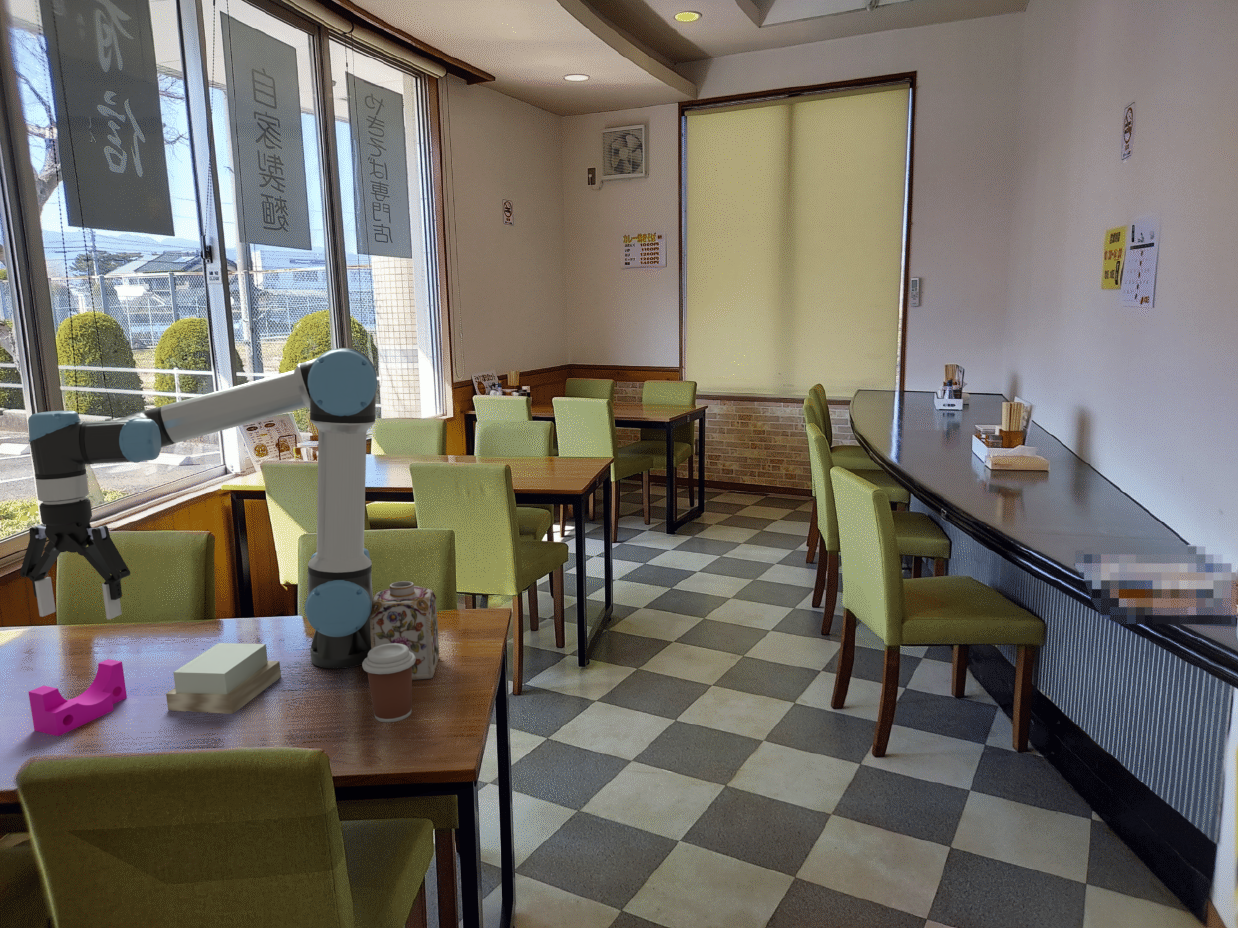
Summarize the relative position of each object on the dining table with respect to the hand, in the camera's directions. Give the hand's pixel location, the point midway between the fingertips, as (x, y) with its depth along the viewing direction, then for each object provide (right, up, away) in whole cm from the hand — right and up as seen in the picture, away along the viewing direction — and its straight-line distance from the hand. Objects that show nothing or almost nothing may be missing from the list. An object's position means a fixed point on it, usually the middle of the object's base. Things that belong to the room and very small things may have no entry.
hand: (80, 615), depth 151 cm
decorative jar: (+54, -14, +19) cm, 59 cm away
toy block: (-1, -19, +3) cm, 19 cm away
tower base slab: (+21, -17, +10) cm, 30 cm away
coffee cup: (+56, -18, 0) cm, 59 cm away
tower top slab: (+21, -14, +9) cm, 27 cm away
